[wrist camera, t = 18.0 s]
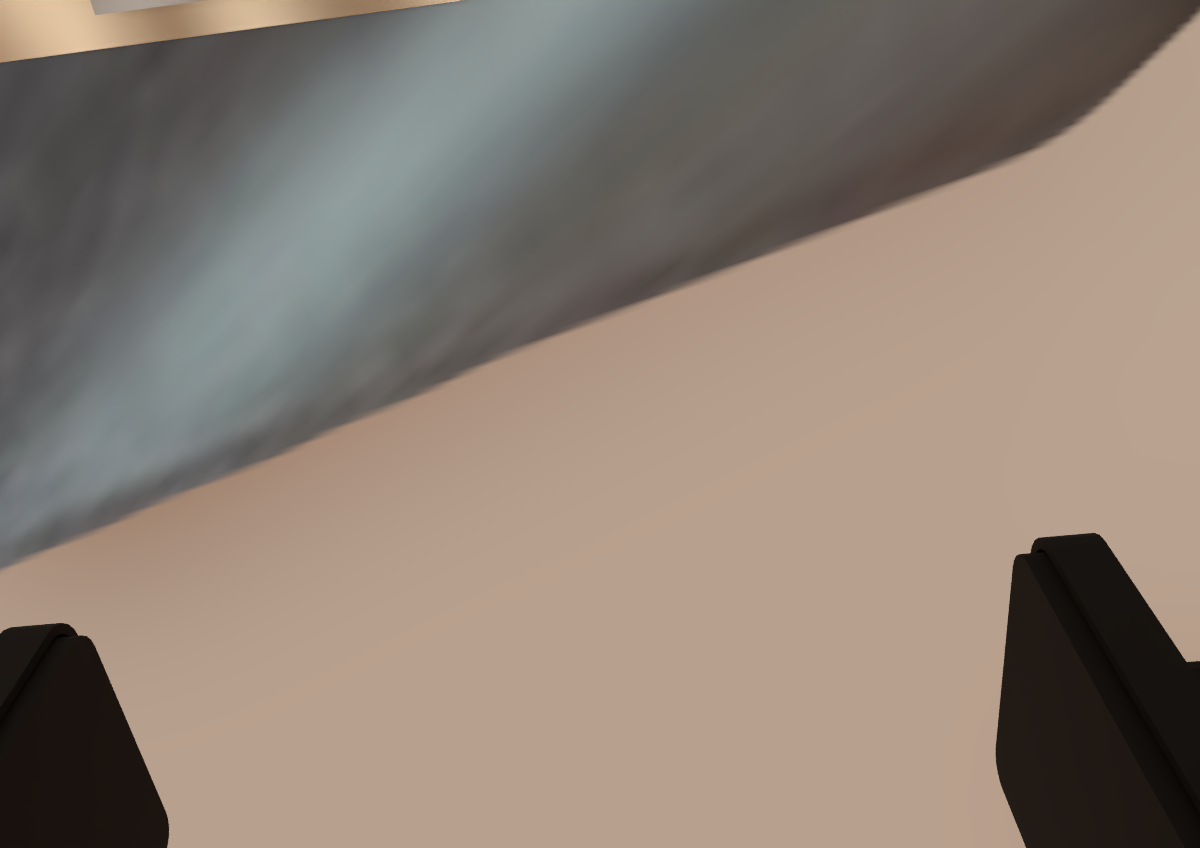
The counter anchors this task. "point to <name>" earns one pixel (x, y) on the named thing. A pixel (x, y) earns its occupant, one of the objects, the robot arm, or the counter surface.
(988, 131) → the counter surface
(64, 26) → the rail mount
